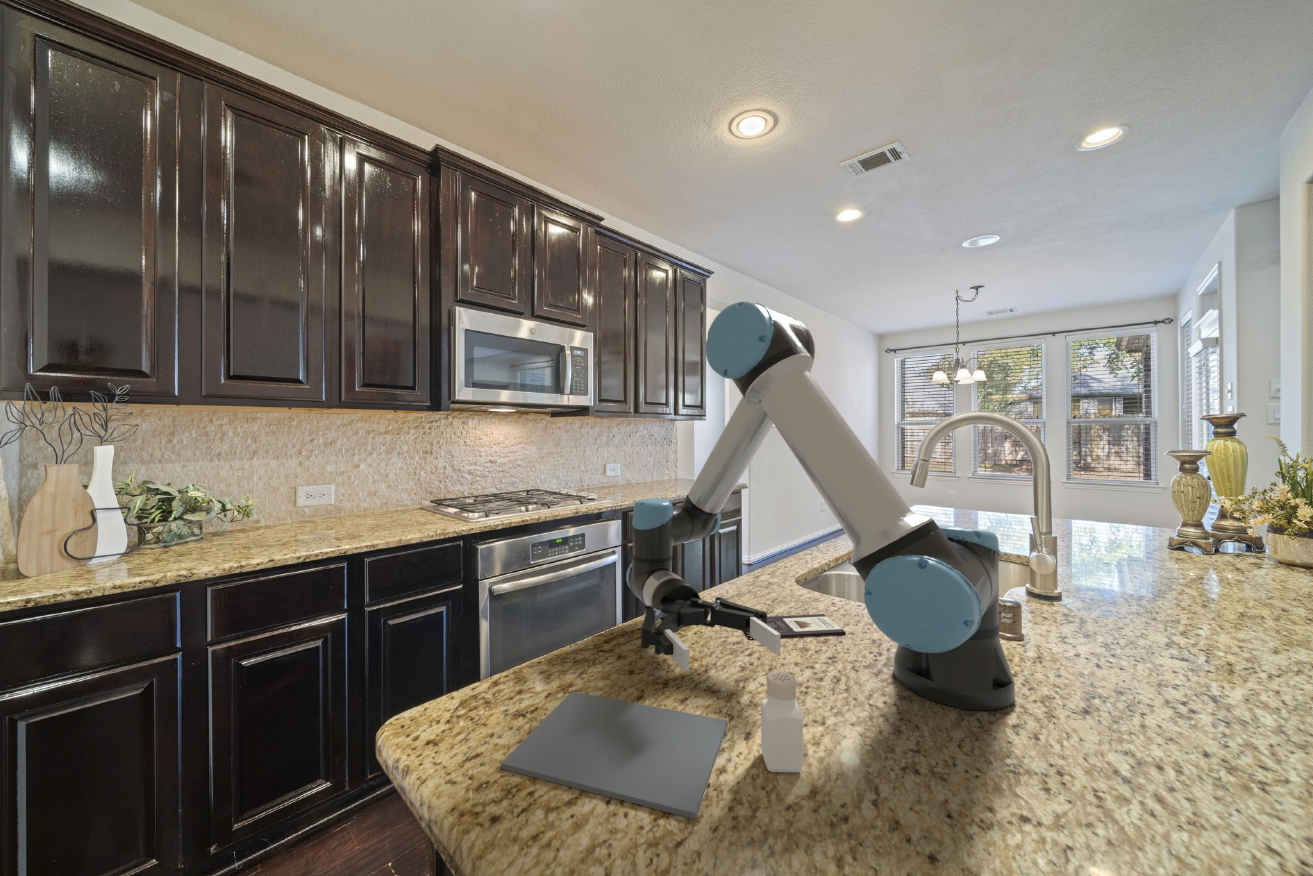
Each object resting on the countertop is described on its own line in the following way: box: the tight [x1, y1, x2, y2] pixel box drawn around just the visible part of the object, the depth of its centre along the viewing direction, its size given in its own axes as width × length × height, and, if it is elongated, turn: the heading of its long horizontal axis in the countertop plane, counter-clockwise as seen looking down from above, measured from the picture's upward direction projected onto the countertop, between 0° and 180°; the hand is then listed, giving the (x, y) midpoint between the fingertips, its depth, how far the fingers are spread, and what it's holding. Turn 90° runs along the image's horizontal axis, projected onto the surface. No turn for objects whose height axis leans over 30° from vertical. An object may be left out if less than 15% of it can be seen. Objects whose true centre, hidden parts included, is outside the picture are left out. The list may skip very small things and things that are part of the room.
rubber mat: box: [500, 690, 729, 820], centre depth 58 cm, size 22×16×1 cm
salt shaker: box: [760, 670, 804, 773], centre depth 54 cm, size 4×4×10 cm
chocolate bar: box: [744, 613, 847, 639], centre depth 93 cm, size 9×1×18 cm
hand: (734, 652), depth 64 cm, fingers open, 13 cm apart
